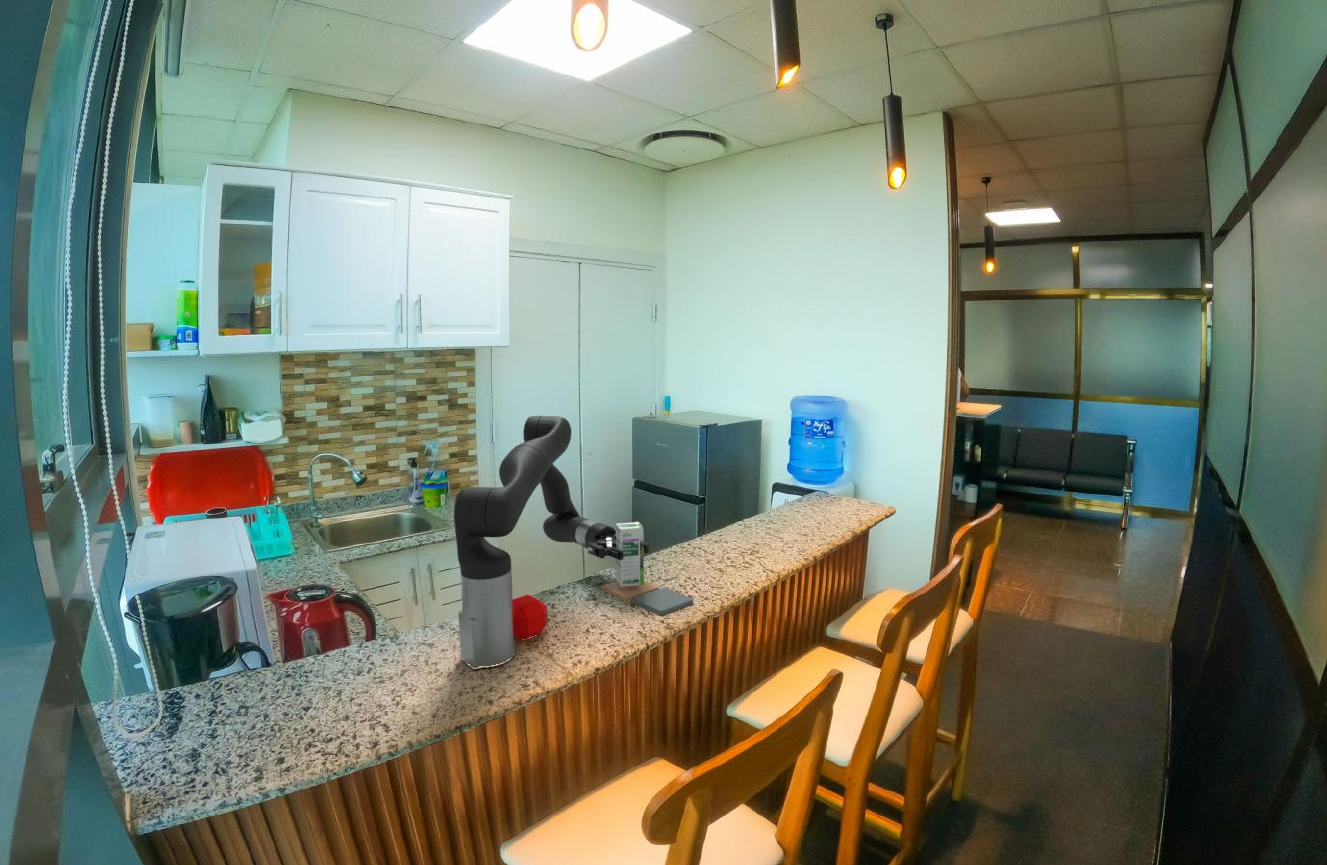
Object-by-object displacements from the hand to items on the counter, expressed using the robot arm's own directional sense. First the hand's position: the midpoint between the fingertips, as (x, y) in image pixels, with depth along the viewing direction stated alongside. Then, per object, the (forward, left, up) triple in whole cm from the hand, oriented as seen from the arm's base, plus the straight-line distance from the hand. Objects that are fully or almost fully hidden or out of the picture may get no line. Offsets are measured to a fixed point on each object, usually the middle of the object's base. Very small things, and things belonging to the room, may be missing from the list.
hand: (635, 552), depth 150 cm
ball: (-31, -2, -10) cm, 33 cm away
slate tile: (+1, -9, -10) cm, 14 cm away
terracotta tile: (0, +2, -10) cm, 10 cm away
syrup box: (0, +2, -8) cm, 9 cm away
